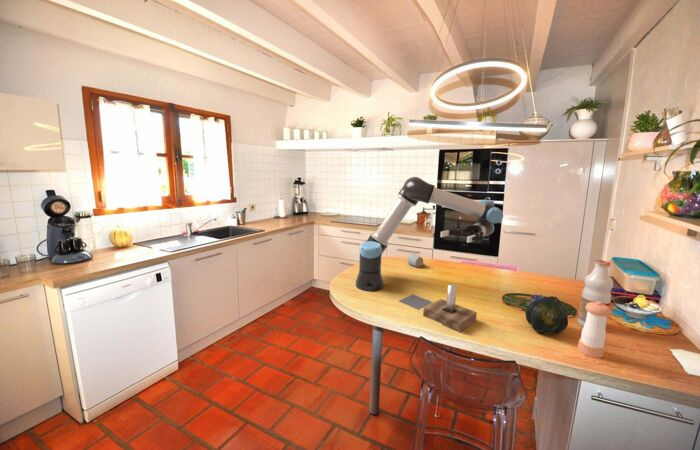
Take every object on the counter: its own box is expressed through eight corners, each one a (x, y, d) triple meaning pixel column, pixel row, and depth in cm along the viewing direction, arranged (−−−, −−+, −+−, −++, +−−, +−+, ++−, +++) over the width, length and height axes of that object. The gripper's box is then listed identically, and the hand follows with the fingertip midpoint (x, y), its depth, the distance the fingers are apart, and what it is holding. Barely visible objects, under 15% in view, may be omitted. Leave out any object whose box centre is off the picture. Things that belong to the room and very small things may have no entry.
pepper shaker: (599, 360, 104) (609, 308, 100) (574, 350, 110) (583, 300, 106) (606, 353, 108) (616, 303, 105) (581, 343, 114) (590, 295, 110)
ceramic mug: (416, 268, 195) (416, 257, 194) (406, 265, 202) (407, 254, 200) (427, 266, 201) (428, 255, 200) (417, 262, 208) (418, 252, 206)
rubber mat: (397, 301, 147) (397, 301, 146) (412, 295, 155) (412, 294, 154) (418, 310, 138) (418, 309, 138) (433, 303, 146) (433, 302, 146)
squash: (514, 315, 124) (546, 296, 115) (522, 304, 135) (553, 286, 127) (541, 346, 118) (577, 329, 110) (547, 333, 129) (581, 316, 121)
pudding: (553, 305, 147) (554, 295, 146) (556, 315, 136) (557, 304, 135) (524, 299, 152) (525, 290, 151) (525, 309, 142) (526, 298, 141)
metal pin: (443, 318, 131) (446, 285, 128) (447, 315, 134) (450, 283, 131) (451, 321, 129) (454, 288, 126) (455, 318, 131) (458, 286, 128)
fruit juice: (575, 317, 134) (585, 256, 129) (602, 323, 130) (614, 260, 124) (578, 327, 126) (590, 262, 121) (607, 333, 121) (621, 266, 116)
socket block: (423, 316, 133) (423, 307, 132) (440, 307, 142) (441, 299, 141) (459, 332, 120) (460, 323, 120) (475, 320, 130) (476, 312, 129)
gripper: (498, 243, 149) (479, 250, 135) (452, 234, 167) (430, 239, 153) (500, 228, 148) (480, 233, 134) (453, 220, 166) (431, 225, 152)
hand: (453, 237), depth 143 cm, fingers open, 13 cm apart
